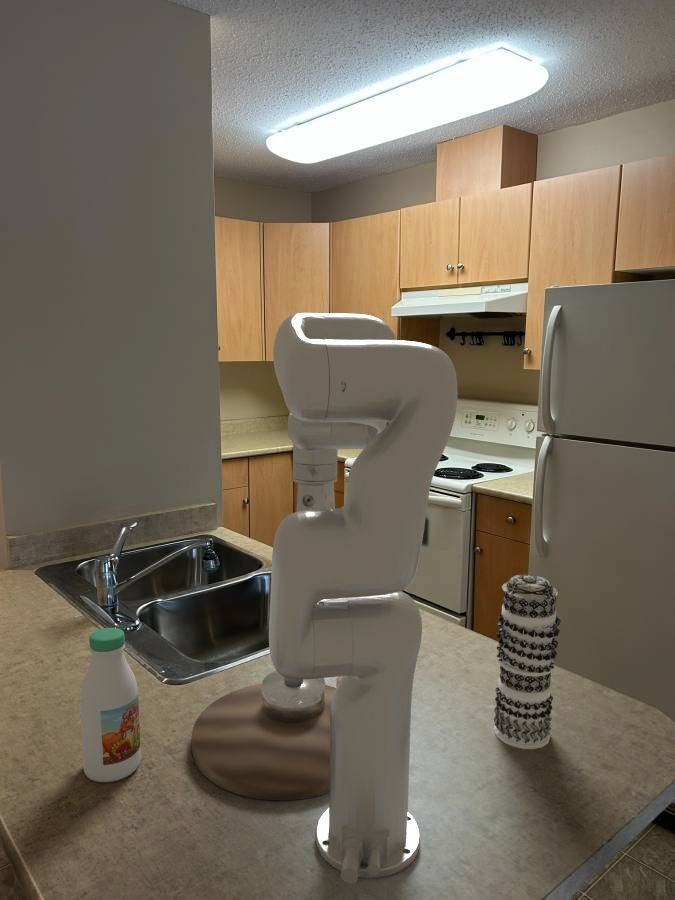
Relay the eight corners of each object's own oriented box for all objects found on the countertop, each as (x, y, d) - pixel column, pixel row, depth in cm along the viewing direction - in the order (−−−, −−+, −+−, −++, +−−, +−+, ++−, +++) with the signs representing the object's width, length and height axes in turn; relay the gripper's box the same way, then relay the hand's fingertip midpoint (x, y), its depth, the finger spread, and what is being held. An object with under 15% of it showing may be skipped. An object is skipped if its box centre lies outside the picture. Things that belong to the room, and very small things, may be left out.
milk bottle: (80, 788, 90) (73, 648, 87) (86, 755, 97) (79, 624, 94) (140, 779, 92) (135, 642, 89) (141, 747, 99) (136, 619, 96)
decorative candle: (555, 755, 98) (566, 593, 95) (491, 745, 101) (499, 587, 97) (550, 721, 107) (560, 572, 103) (491, 714, 109) (499, 567, 106)
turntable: (370, 809, 86) (371, 767, 85) (162, 789, 89) (161, 748, 88) (383, 698, 113) (384, 665, 113) (223, 686, 117) (223, 653, 116)
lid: (319, 725, 101) (319, 691, 101) (255, 720, 103) (255, 687, 102) (328, 692, 111) (329, 661, 110) (270, 687, 113) (270, 657, 112)
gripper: (325, 483, 104) (324, 588, 106) (346, 464, 120) (344, 555, 123) (279, 480, 105) (279, 584, 108) (306, 462, 122) (305, 552, 125)
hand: (314, 568), depth 115 cm, fingers open, 9 cm apart
